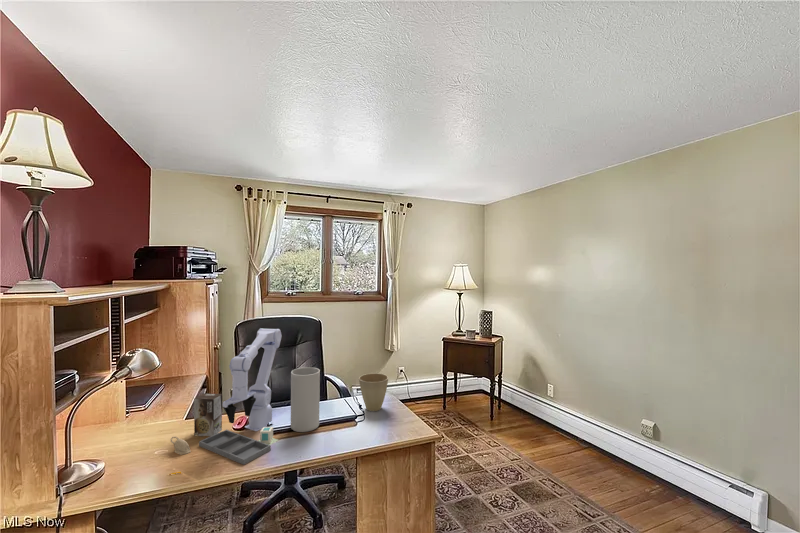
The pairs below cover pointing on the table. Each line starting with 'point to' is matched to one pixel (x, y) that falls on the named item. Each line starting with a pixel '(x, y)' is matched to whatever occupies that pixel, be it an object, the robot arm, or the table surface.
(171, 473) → the pencil
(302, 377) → the cylinder vase
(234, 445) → the tray
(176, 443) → the decorative ornament
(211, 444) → the tray
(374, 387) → the plant pot
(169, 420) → the table surface
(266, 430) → the letter block
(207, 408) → the coffee box
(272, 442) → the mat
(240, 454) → the tray
